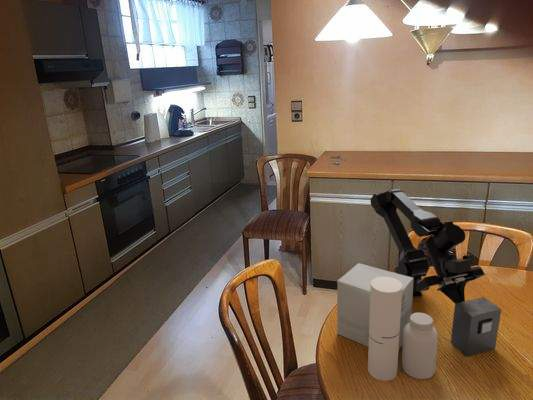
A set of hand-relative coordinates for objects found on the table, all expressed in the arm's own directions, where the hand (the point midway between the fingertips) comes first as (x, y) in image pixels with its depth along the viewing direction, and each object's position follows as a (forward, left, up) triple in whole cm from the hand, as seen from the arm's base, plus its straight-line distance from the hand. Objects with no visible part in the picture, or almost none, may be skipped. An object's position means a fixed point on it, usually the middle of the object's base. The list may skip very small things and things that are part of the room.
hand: (463, 308), depth 109 cm
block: (+1, -5, -9) cm, 10 cm away
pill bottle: (-16, -12, -9) cm, 22 cm away
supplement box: (-24, +2, -9) cm, 25 cm away
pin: (+1, -4, -3) cm, 5 cm away
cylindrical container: (-25, -12, -9) cm, 29 cm away
